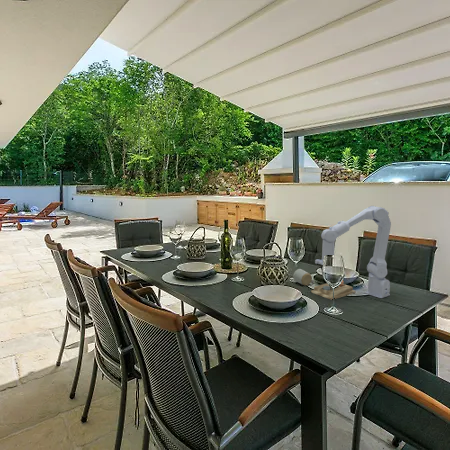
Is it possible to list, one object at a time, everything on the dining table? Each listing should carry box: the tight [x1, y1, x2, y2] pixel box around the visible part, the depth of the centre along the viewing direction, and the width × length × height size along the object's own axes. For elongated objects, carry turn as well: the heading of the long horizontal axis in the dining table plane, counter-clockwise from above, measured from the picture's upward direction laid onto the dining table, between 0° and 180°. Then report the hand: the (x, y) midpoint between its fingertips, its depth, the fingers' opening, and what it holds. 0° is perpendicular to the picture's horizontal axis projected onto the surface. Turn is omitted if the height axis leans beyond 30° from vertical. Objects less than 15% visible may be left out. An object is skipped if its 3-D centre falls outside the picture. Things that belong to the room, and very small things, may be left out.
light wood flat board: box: [311, 283, 356, 301], centre depth 168 cm, size 13×18×3 cm
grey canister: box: [292, 268, 315, 286], centre depth 183 cm, size 11×8×8 cm
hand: (327, 280), depth 164 cm, fingers closed
